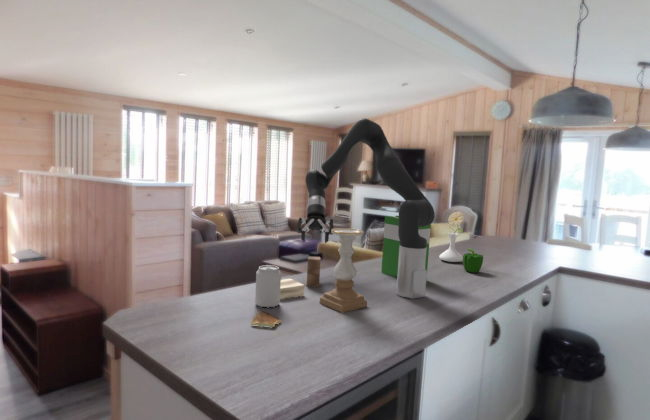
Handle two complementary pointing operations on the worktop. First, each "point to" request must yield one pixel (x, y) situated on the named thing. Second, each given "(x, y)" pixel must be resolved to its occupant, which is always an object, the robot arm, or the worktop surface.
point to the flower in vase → (453, 239)
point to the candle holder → (344, 275)
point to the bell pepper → (472, 261)
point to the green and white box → (397, 245)
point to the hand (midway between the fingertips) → (314, 241)
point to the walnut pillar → (313, 271)
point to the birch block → (290, 288)
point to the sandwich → (265, 319)
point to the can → (268, 286)
